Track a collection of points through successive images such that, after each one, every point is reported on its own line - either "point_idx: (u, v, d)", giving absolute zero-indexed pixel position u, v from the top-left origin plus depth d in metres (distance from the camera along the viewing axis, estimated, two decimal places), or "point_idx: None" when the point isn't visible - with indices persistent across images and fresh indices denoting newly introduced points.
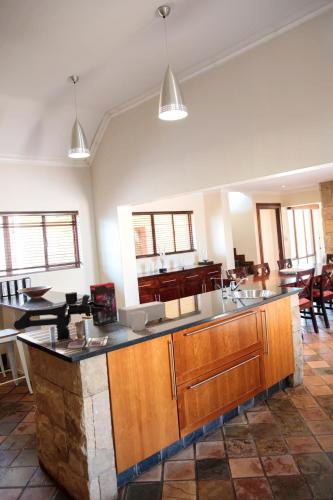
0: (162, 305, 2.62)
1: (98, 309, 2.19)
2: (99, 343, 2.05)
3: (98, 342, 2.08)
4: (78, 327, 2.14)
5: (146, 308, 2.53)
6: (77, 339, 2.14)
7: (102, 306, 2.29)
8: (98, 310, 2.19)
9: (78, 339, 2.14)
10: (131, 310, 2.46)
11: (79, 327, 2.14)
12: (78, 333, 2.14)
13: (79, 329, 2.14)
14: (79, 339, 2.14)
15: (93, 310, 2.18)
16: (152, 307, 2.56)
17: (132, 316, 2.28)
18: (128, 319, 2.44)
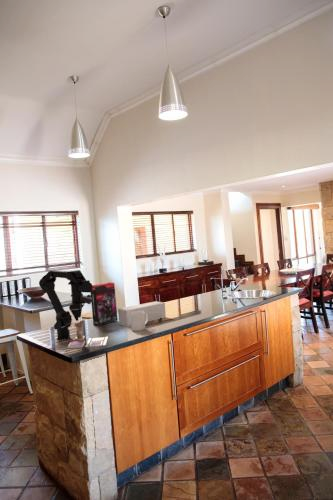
0: (162, 305, 2.62)
1: (76, 316, 2.10)
2: (99, 343, 2.05)
3: (98, 342, 2.08)
4: (78, 327, 2.14)
5: (146, 308, 2.53)
6: (77, 339, 2.14)
7: (79, 314, 2.20)
8: (75, 316, 2.10)
9: (78, 339, 2.14)
10: (131, 310, 2.46)
11: (79, 327, 2.14)
12: (78, 333, 2.14)
13: (79, 329, 2.14)
14: (79, 339, 2.14)
15: (75, 311, 2.10)
16: (152, 307, 2.56)
17: (132, 316, 2.28)
18: (128, 319, 2.44)
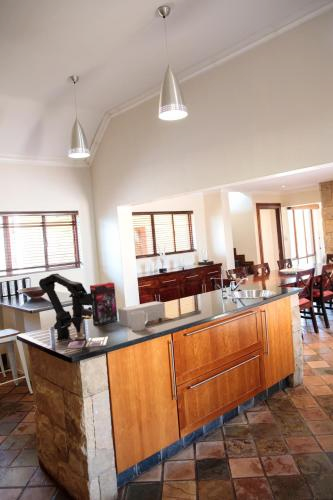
0: (162, 305, 2.62)
1: (78, 327, 2.13)
2: (99, 343, 2.05)
3: (98, 342, 2.08)
4: None
5: (146, 308, 2.53)
6: (77, 337, 2.13)
7: None
8: (77, 328, 2.13)
9: (78, 337, 2.13)
10: (132, 310, 2.46)
11: None
12: None
13: None
14: (79, 337, 2.14)
15: None
16: (152, 307, 2.57)
17: (132, 316, 2.28)
18: (129, 319, 2.44)
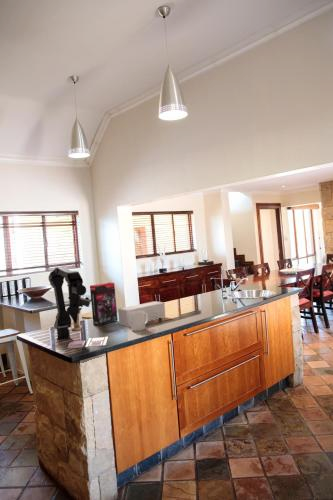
0: (162, 305, 2.62)
1: (75, 318, 2.03)
2: (99, 343, 2.05)
3: (98, 342, 2.08)
4: None
5: (146, 308, 2.53)
6: (74, 329, 2.04)
7: None
8: (74, 318, 2.03)
9: (75, 329, 2.04)
10: (132, 310, 2.46)
11: None
12: None
13: None
14: (76, 329, 2.04)
15: (73, 313, 2.03)
16: (152, 307, 2.57)
17: (132, 316, 2.28)
18: (129, 319, 2.44)
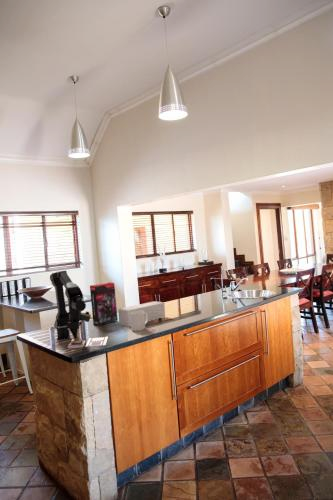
0: (161, 305, 2.62)
1: (75, 333, 2.02)
2: (99, 343, 2.05)
3: (98, 342, 2.08)
4: None
5: (146, 308, 2.53)
6: (74, 341, 2.03)
7: None
8: (73, 333, 2.02)
9: (75, 341, 2.03)
10: (132, 310, 2.45)
11: None
12: None
13: None
14: (76, 341, 2.03)
15: (73, 328, 2.01)
16: (152, 307, 2.57)
17: (132, 316, 2.28)
18: (129, 319, 2.44)
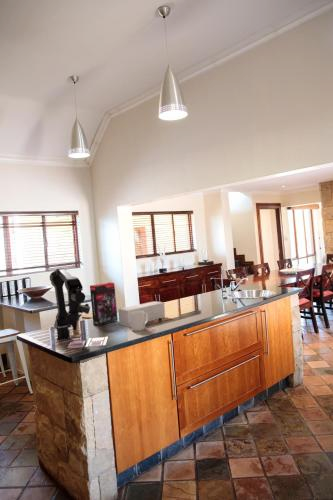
0: (161, 305, 2.63)
1: (74, 325, 2.02)
2: (99, 343, 2.05)
3: (98, 342, 2.08)
4: None
5: (146, 308, 2.53)
6: (73, 335, 2.02)
7: None
8: (73, 325, 2.02)
9: (74, 335, 2.03)
10: (132, 310, 2.45)
11: None
12: None
13: None
14: (75, 335, 2.03)
15: (73, 320, 2.01)
16: (152, 307, 2.57)
17: (132, 316, 2.28)
18: (129, 319, 2.44)
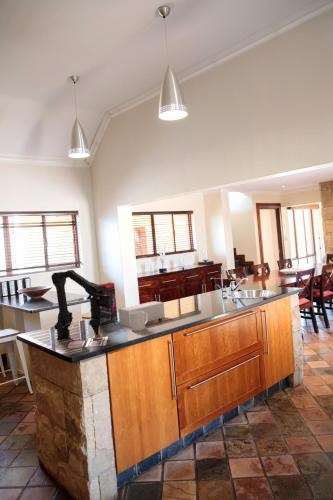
0: (161, 305, 2.63)
1: (96, 330, 2.11)
2: (99, 343, 2.05)
3: (98, 342, 2.08)
4: None
5: (147, 308, 2.53)
6: (95, 338, 2.12)
7: None
8: (95, 330, 2.11)
9: (96, 338, 2.12)
10: (133, 310, 2.45)
11: None
12: None
13: None
14: (97, 338, 2.13)
15: (95, 325, 2.11)
16: (152, 307, 2.57)
17: (132, 316, 2.28)
18: None
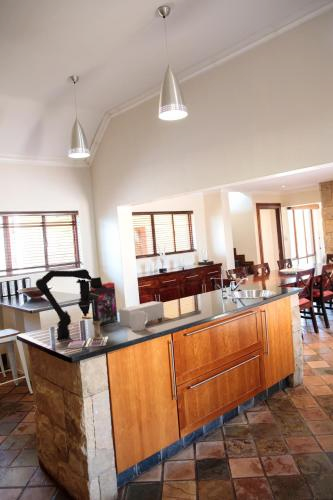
0: (161, 305, 2.63)
1: (85, 312, 2.22)
2: (99, 343, 2.05)
3: (98, 342, 2.08)
4: (96, 326, 2.13)
5: (147, 308, 2.53)
6: (95, 338, 2.12)
7: (87, 311, 2.32)
8: (84, 312, 2.22)
9: (96, 338, 2.12)
10: (134, 310, 2.45)
11: (97, 326, 2.13)
12: (96, 332, 2.13)
13: (97, 328, 2.13)
14: (97, 338, 2.13)
15: (84, 307, 2.22)
16: (152, 307, 2.57)
17: (132, 316, 2.28)
18: None
